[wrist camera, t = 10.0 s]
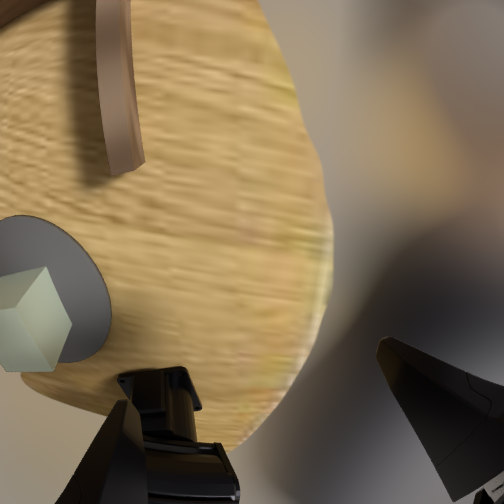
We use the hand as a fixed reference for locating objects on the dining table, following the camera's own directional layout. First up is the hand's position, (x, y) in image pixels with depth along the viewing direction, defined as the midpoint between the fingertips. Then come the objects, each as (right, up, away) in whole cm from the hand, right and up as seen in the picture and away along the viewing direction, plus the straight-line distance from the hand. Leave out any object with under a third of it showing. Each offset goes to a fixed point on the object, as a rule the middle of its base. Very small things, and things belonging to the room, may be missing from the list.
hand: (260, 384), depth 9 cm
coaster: (-17, +1, +8) cm, 18 cm away
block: (-16, +1, +8) cm, 18 cm away
